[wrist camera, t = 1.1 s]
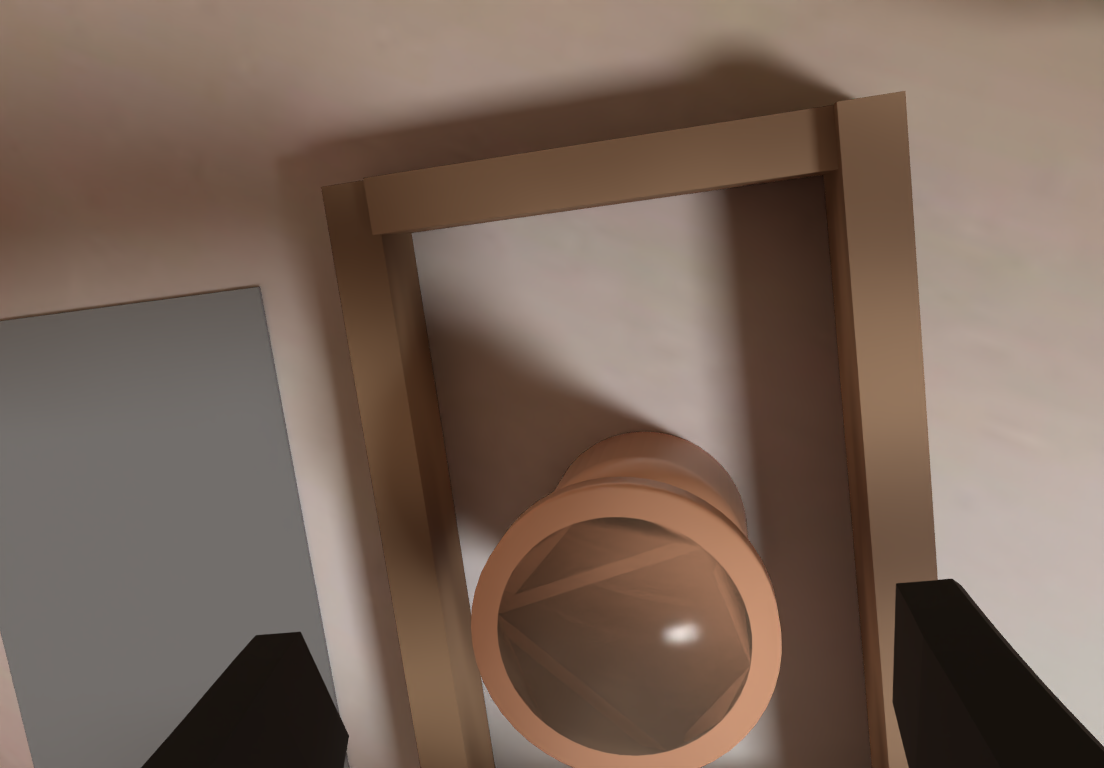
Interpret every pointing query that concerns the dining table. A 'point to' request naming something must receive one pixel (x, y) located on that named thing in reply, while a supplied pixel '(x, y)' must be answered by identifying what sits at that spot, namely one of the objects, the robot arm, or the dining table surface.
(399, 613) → the cold frame
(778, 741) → the dining table surface
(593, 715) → the terracotta pot
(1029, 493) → the dining table surface
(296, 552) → the potting mat
